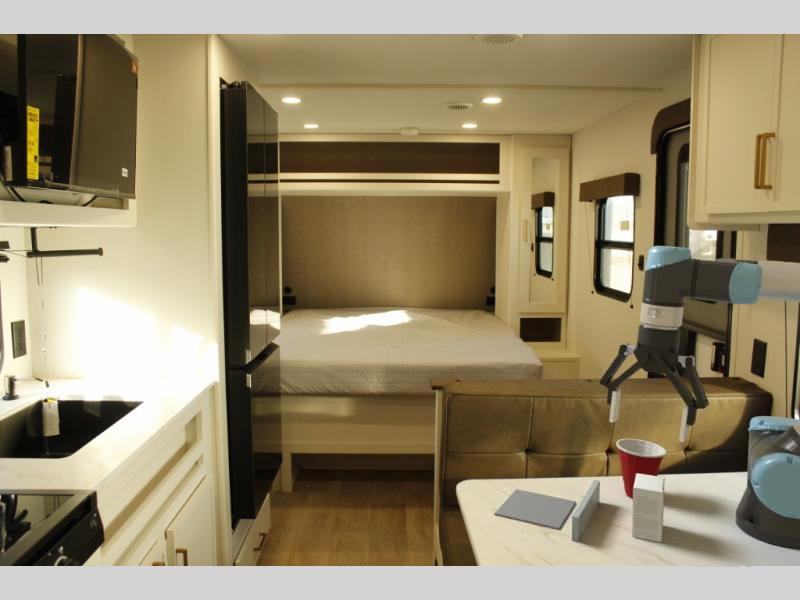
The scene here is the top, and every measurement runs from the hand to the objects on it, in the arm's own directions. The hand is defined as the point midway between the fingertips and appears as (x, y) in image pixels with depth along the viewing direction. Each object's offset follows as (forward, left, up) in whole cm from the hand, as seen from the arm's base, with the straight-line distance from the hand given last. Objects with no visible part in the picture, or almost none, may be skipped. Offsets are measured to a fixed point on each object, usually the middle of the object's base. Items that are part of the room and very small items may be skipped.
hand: (646, 430), depth 119 cm
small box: (-1, -1, -22) cm, 22 cm away
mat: (+22, 0, -21) cm, 31 cm away
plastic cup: (+3, -18, -22) cm, 28 cm away
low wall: (+11, 0, -21) cm, 24 cm away
